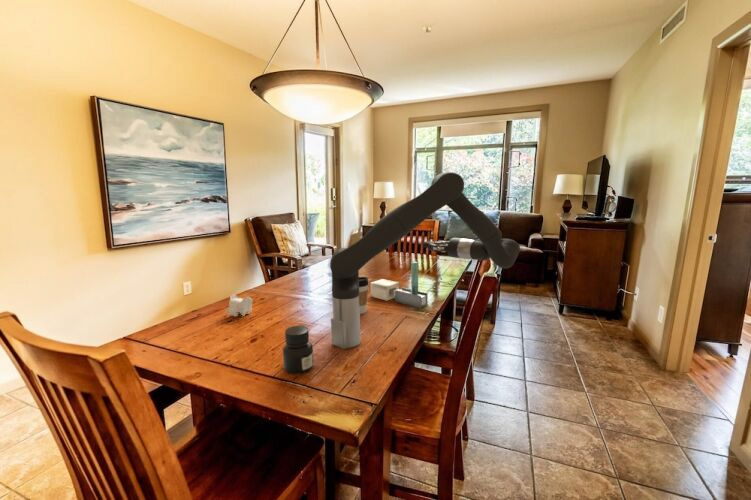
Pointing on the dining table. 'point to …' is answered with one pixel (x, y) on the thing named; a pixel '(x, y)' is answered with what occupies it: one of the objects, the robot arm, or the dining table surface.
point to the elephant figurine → (239, 305)
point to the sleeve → (410, 298)
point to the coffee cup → (363, 293)
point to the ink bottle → (297, 350)
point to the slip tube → (414, 282)
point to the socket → (384, 289)
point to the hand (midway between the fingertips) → (424, 244)
